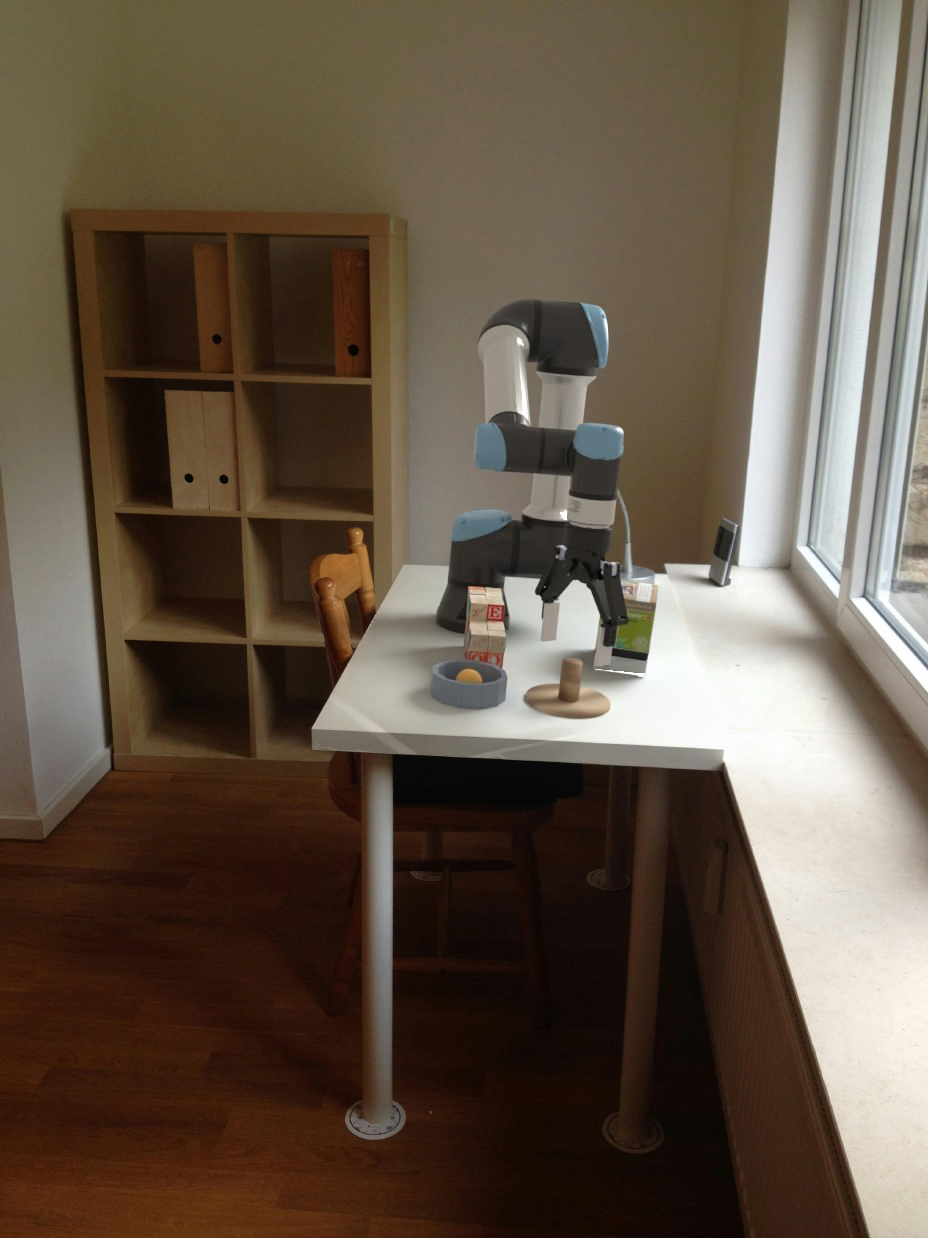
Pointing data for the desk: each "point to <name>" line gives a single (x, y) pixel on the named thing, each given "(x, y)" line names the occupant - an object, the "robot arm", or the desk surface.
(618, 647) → the tea box
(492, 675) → the bowl
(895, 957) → the desk surface
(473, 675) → the clementine
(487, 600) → the stack of blocks
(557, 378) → the robot arm
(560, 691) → the lid
